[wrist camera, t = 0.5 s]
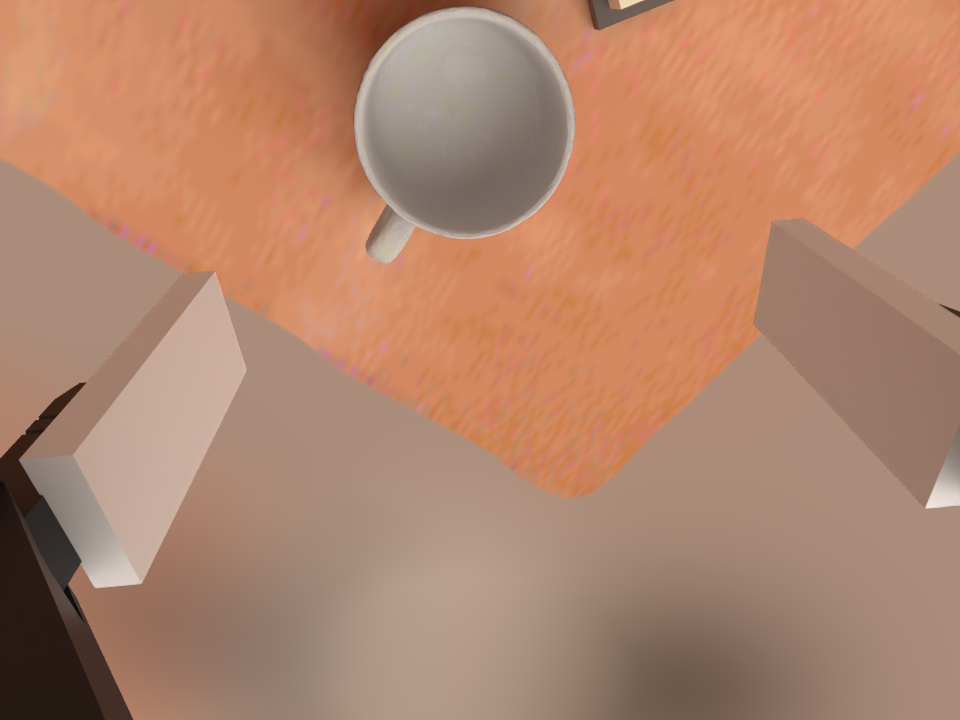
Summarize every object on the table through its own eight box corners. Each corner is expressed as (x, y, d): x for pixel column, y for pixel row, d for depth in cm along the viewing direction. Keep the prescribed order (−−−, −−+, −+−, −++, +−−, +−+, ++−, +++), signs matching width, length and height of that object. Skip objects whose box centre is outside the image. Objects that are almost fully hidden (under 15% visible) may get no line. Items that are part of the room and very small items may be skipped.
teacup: (464, -45, 33) (470, -55, 26) (588, 114, 37) (621, 141, 30) (295, 142, 37) (263, 176, 30) (424, 265, 42) (421, 318, 35)
